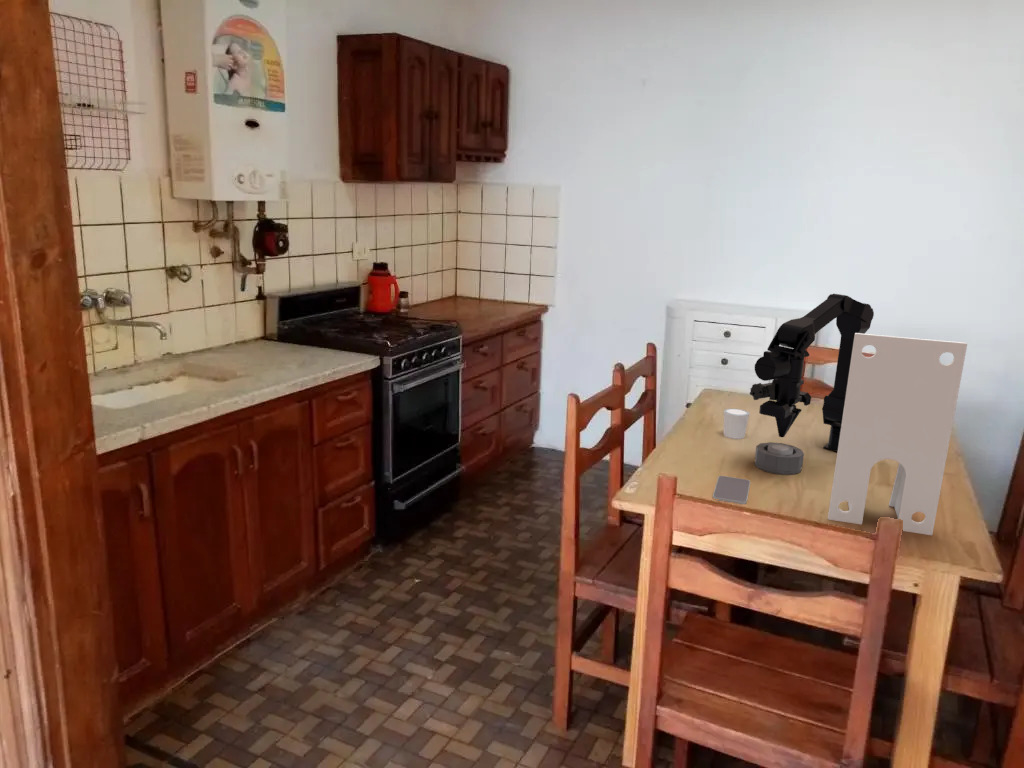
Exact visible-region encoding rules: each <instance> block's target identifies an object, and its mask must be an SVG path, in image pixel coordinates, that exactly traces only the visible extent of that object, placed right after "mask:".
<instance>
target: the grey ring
mask: <svg viewBox="0 0 1024 768" xmlns="http://www.w3.org/2000/svg"><path fill="white" fill-rule="evenodd" d="M770 444H782V445H787V446H790V447H792V448H793V455H779V454H774V453H770V452H768V451H767V450H768V445H770ZM804 457H805V453H804V451H803V449H801V448H800V447H797V446H795V445H791V444H789V443H788V444H786V443H782V442H771V441H769V442H762V443H761V442H760V443H759V444H757V445H755V452H754V466H755V467H756V468H757V469H759V470H761V471H763V472H766V473H770V474H774V475H781V476H782V475H783V476H790V475H791V476H793V475H797V474H799V473H801V471H802V468H803V463H804Z"/></svg>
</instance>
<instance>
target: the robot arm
mask: <svg viewBox="0 0 1024 768" xmlns="http://www.w3.org/2000/svg"><path fill="white" fill-rule="evenodd" d="M874 316H875V314H874V308H872V306H871V305H870V304H869V303H865V302H861V301H858V300H856V299H853V298H852V297H851V296H849V295H845V294H841V293H840V294H838V293H831V294H829V295H828V296H827V298H826V299H825V300H824V301H822V302H821V303H820V304H818V305H817V306H816V307H814V308H813V309H812V310H810V311H809V312H808V313H807V314H805V315H804V316H802V317H800V318H793V319H790V320H787V321H786V322H783V323H782V324H781V325H780V326H779V327H778V328H777V330H776V333H775V334H774V336H773V338H772V340H771V341H770V344H768V347H767V351H766V350H765V351H763V356H761V357H758V359H757V360H756V362H755V364H754V372H755V376H757V378H758V379H759V380H761V381H772V382H767V383H762V382H759V383H753V384H752V385H751V388H749V389H750V392H749V395H750V396H752V398H753V401H758V400H759V399H765V398H769V399H768V400H767V401H765V402H763V403H762V404H760V405H759V414H760V415H764V416H768V417H774V418H775V421H776V426H777V427H776V428H777V434H778V437H779V438H785V437H786V435H787V434H788V432H789V430H790V428H791V427H792V425H793V424H794V422H795V420H796V419H797V417H798V416H799V415H800V413H801V412H802V411H803V410H802V408H798V407H797V405H796V404H798V403H803V406H806V407H807V406H809V405H811V399H812V396H811V395H810V393H809V392H807V391H801V386H802V385H804V383H805V380H804V379H803V371H804V364H805V358H807V357H810V353H809V352H808V351H807V349H808V348H809V347H810V346H811V345H812V344H813V343H814V342H815V340H816V334H817V333H818V332H820V331H821V329H823V328H824V327H826V326H828V324H830V323H831V322H832V321H833V320H835V319H836V320H835V321H836V322H835V324H836V327H837V330H838V331H839V335H840V339H839V340H840V341H839V348H838V355H837V363H836V368H835V377H834V384H833V388H832V390H831V391H830V392H829V394H828V395H824V397H823V405H822V408H821V411H822V421H823V425H827V426H830V429H829V430H830V431H829V437H828V443H826V444H825V445H823V449H825V450H830V451H834V452H838V445H839V438H840V431H841V424H842V418H843V411H844V404H845V397H846V390H847V384H848V377H849V370H850V363H851V356H852V349H853V343H854V336H855V333H862V334H867V332H868V331H869V330H870V328H871V324H872V321H873V319H874Z"/></svg>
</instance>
